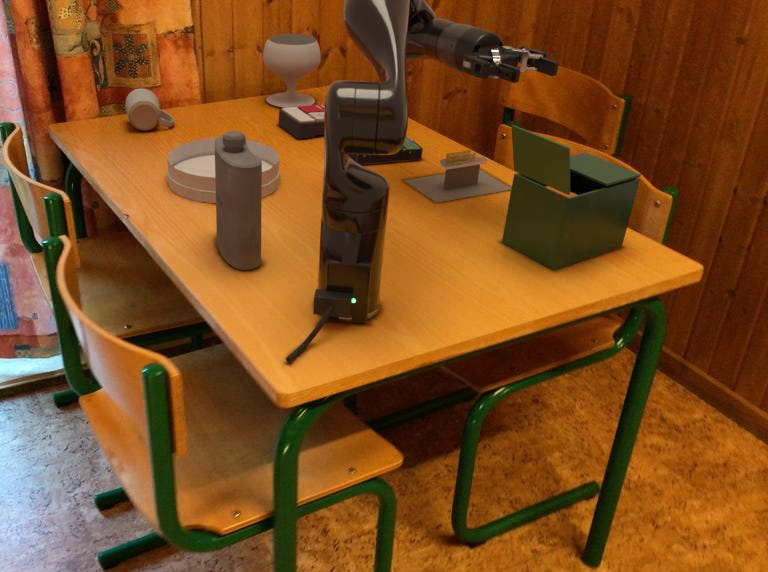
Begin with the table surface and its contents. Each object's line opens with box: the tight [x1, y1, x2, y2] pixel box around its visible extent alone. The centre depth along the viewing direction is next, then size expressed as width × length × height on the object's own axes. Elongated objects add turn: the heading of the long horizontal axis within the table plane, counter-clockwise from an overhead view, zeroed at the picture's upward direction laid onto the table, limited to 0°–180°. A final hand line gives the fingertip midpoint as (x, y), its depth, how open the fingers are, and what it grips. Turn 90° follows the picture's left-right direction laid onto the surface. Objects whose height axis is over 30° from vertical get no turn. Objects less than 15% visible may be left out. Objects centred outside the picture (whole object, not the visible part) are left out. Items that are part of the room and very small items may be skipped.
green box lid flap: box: [510, 124, 571, 195], centre depth 132 cm, size 8×12×1 cm
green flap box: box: [501, 152, 642, 271], centre depth 142 cm, size 17×12×13 cm
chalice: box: [262, 33, 322, 108], centre depth 206 cm, size 14×14×15 cm
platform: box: [403, 149, 512, 204], centre depth 166 cm, size 12×18×7 cm, turn 115°
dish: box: [166, 137, 281, 204], centre depth 165 cm, size 22×22×5 cm
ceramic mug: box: [124, 87, 175, 132], centre depth 190 cm, size 11×8×8 cm
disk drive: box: [348, 134, 424, 165], centre depth 180 cm, size 10×3×15 cm
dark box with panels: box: [278, 104, 325, 140], centre depth 193 cm, size 11×4×15 cm
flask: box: [215, 130, 263, 271], centre depth 136 cm, size 15×6×20 cm, turn 15°
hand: (537, 72), depth 135 cm, fingers open, 8 cm apart
